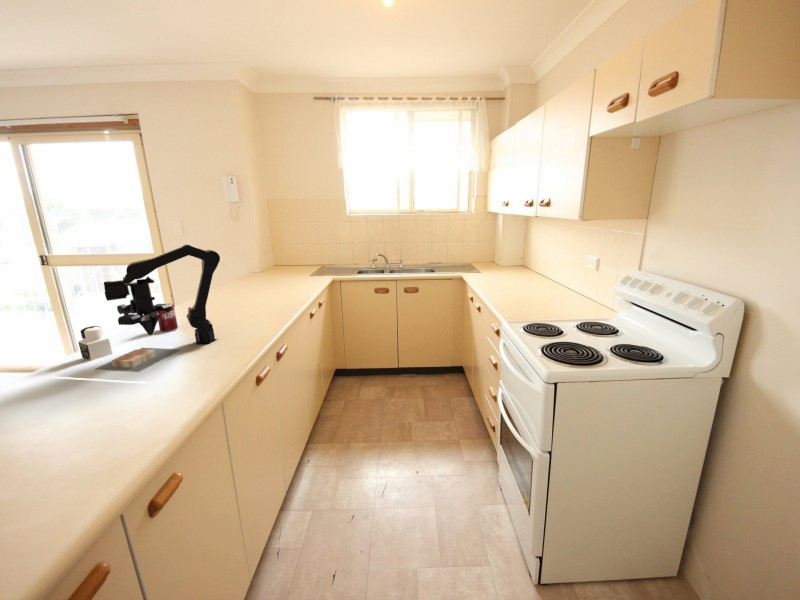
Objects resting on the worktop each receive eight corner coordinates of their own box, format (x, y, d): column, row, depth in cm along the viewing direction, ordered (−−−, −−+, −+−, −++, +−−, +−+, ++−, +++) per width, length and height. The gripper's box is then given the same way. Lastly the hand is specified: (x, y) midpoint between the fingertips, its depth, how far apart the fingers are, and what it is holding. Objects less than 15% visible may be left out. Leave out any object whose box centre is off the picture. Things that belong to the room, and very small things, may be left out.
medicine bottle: (82, 358, 135) (74, 329, 132) (104, 352, 141) (97, 323, 138) (91, 362, 132) (83, 331, 129) (113, 355, 138) (106, 326, 135)
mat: (182, 350, 141) (181, 349, 141) (138, 373, 122) (138, 371, 121) (142, 349, 144) (142, 347, 143) (94, 370, 124) (93, 369, 124)
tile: (154, 350, 134) (131, 361, 124) (155, 356, 134) (132, 367, 125) (136, 349, 135) (111, 360, 125) (137, 355, 136) (113, 366, 126)
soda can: (181, 327, 170) (177, 303, 167) (170, 332, 163) (165, 307, 160) (167, 327, 171) (163, 303, 168) (156, 332, 164) (151, 307, 161)
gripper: (143, 290, 143) (151, 326, 147) (99, 302, 125) (110, 343, 129) (168, 290, 141) (176, 327, 145) (127, 302, 123) (137, 344, 127)
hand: (150, 334), depth 137 cm, fingers closed
